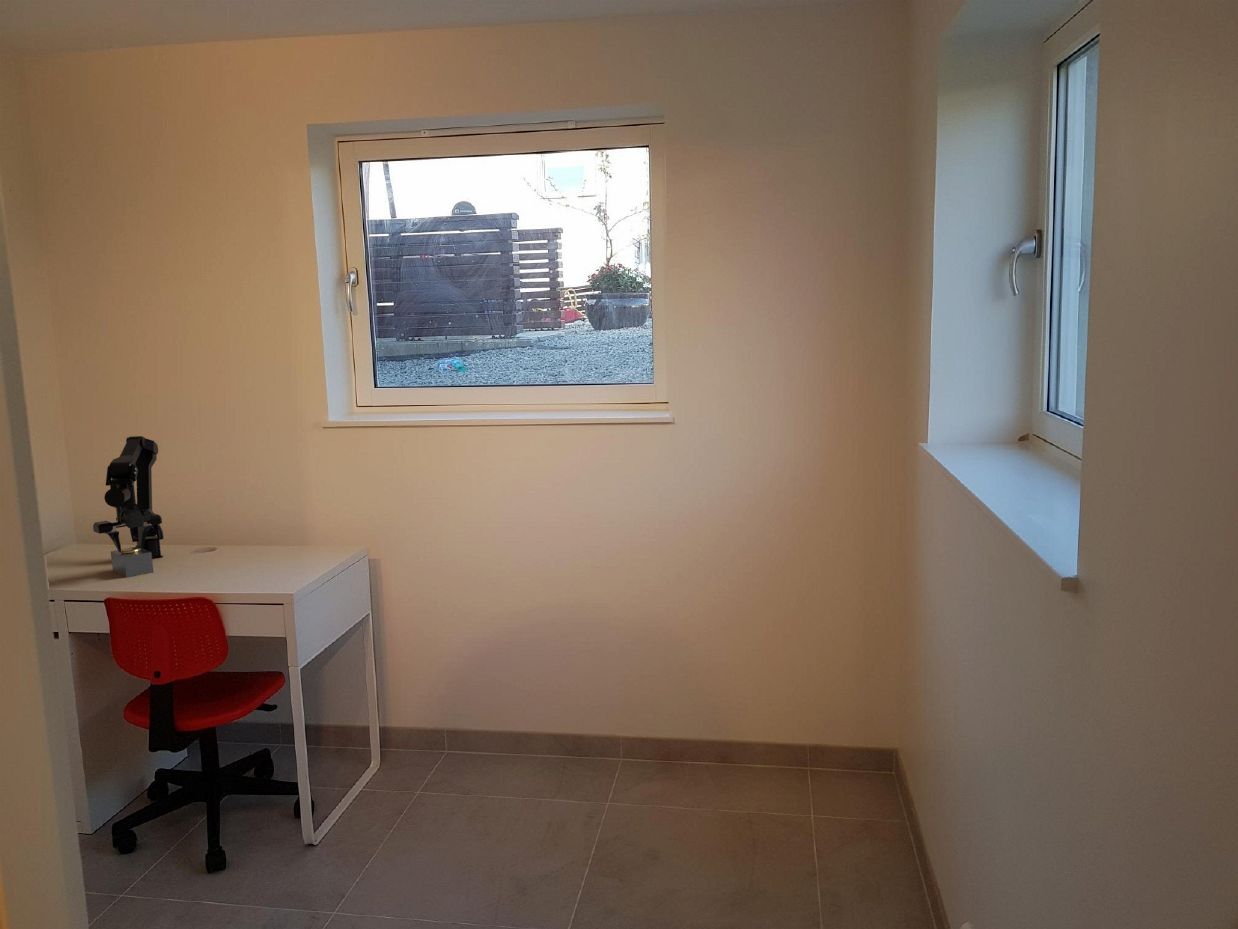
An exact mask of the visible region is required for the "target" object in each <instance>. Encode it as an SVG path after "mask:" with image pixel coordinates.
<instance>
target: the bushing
mask: <svg viewBox="0 0 1238 929" xmlns="http://www.w3.org/2000/svg"><path fill="white" fill-rule="evenodd" d="M121 549H122V550H121V553H122V554H131V553H137V552H140V551H141V548H140V547H136V546H134V547H126V548H121Z"/></svg>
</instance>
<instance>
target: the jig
mask: <svg viewBox="0 0 1238 929" xmlns="http://www.w3.org/2000/svg"><path fill="white" fill-rule="evenodd" d="M122 549H123V548H121V550H122ZM110 558H111V566H112V572H114V573H116V574H118V575H120V576H122V577H124V578H130V577H136V576H141V575H146V574H151V573H154V566H153V559H152V553H151V552H150V551H147V550H145V549H142V548H141V551H140V552H137V553H131V554H122V553H121V552H119V551H118V550H117V549H116V550H111V551H110Z"/></svg>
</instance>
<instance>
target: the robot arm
mask: <svg viewBox="0 0 1238 929" xmlns="http://www.w3.org/2000/svg"><path fill="white" fill-rule="evenodd" d="M125 442H126V443H125V444H124V447H123V448H122V450H121V453H120V455H119V457H116V458H114V459H112V460H111V462H109V465H108V466H107V468H106V475H105V476H106V478H105V487H108V486H109V487H110V489H107V491H105V493H104V497H103V498H104V502H105V504H106V505H107V506H110V507H112V508H115V510H116V511H115V512H116V517H115V520H116V521H114V522H111V521H108V520H102V521H95V522H93V526H92V530H93V532H94V533H97V534H106V535H107V536H109V538H110V539H111V541H112V542H113V544H114V546H115V548H116V550H118V551H119V552H121V549H122V547H121V540H120V531H118V530H117V529H119V528H125V527H127V528H129V532H130V537H131V541H132V543H135V542H136V545H135V547H140V548H142V549H145V550H147V551H150V552H151V553H152V560H155V558H156V559H161V558H163V557H164V555H162V552H161V551H162V550H161V542H160V541H161V540H164V537H165V536H164V531H163V528H162V526H161V524H163V519H162V517H161V515H159V514H157V513H154V511H153V484H152V483H153V482H152V481H153V479H152V478H153V477H152V476H153V474H152V468H153V466H154V465H155V463H156V461H157V459H158V458H157V455H158V453H159V446H158V443H157V442H156V441H155V440H153V439H149V438H146V437H145V436H142V435H138V436H137V435H135V436H134V435H133V436H129V437H128V436H127V437H126V440H125ZM135 482H136V491H135Z"/></svg>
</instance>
